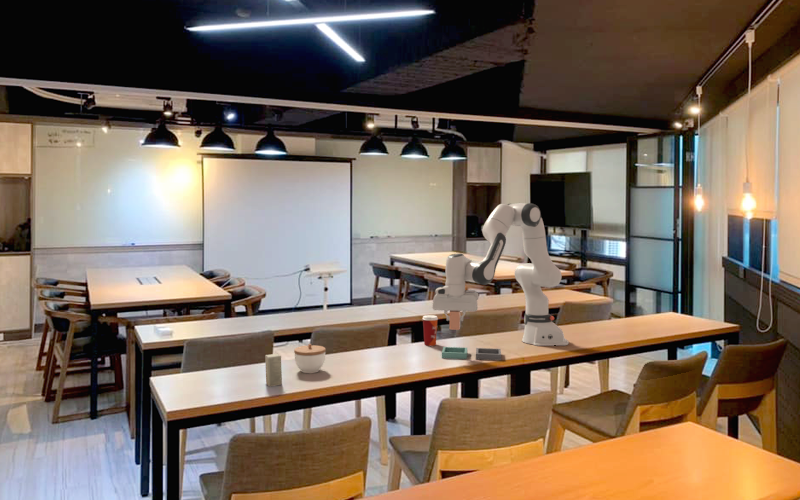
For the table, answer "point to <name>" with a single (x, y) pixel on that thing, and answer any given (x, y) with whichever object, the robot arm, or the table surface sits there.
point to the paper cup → (430, 329)
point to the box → (273, 370)
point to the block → (454, 320)
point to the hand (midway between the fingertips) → (454, 320)
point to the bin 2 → (488, 354)
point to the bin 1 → (454, 352)
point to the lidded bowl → (309, 358)
